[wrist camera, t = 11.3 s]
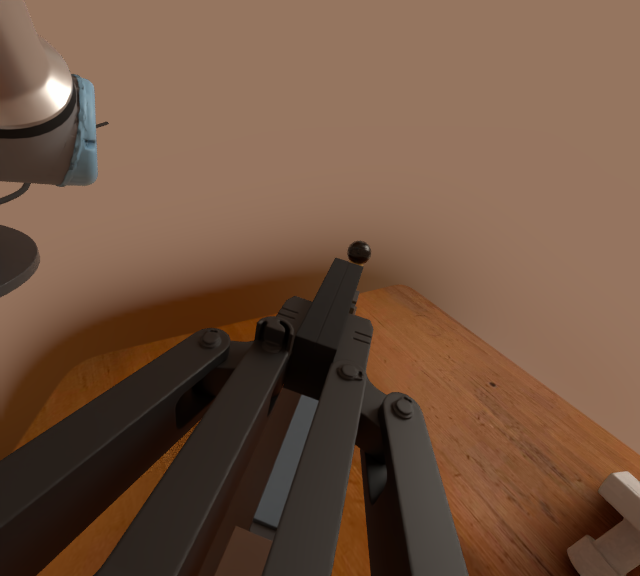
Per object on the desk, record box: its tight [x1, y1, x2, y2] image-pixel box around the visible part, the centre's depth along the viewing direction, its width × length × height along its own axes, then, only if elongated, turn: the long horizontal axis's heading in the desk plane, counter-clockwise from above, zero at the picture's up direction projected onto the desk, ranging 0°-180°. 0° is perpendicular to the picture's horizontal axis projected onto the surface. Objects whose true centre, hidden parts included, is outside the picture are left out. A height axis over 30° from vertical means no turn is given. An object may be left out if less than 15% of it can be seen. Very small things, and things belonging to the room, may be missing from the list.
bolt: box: [347, 241, 371, 266], centre depth 34 cm, size 7×2×10 cm, turn 165°
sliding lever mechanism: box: [198, 291, 359, 576], centre depth 30 cm, size 29×7×9 cm, turn 165°
